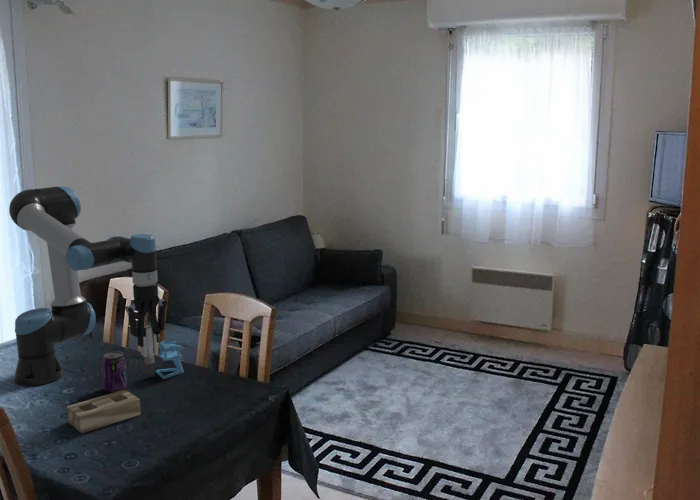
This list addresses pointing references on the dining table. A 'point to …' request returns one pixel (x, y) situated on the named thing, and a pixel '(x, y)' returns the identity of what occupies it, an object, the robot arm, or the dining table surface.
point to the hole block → (103, 411)
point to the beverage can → (114, 371)
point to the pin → (149, 344)
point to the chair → (170, 358)
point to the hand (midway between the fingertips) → (149, 354)
